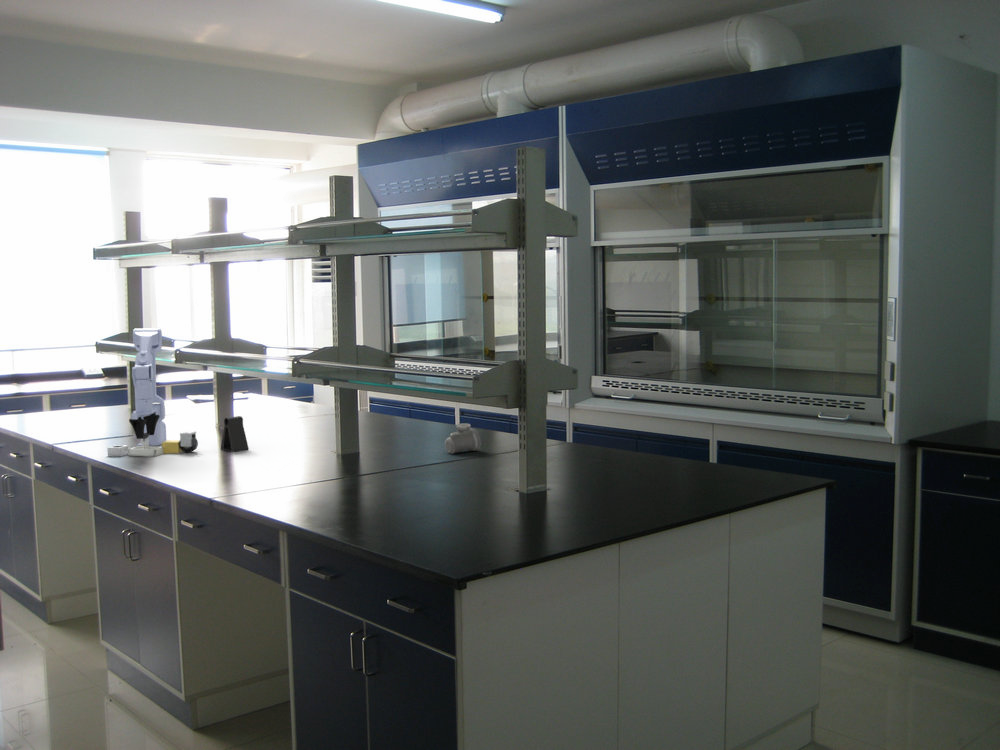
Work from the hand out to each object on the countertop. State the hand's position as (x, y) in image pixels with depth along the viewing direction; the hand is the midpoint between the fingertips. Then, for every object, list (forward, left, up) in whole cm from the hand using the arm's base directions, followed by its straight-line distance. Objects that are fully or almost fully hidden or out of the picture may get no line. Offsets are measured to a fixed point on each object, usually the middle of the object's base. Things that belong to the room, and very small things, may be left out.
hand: (145, 436), depth 319 cm
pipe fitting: (-13, +112, -7) cm, 113 cm away
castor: (-6, +13, -6) cm, 16 cm away
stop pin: (0, 0, -6) cm, 6 cm away
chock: (-6, +7, -7) cm, 11 cm away
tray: (0, 0, -6) cm, 6 cm away
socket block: (+1, -10, -6) cm, 12 cm away
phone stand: (-12, +28, -7) cm, 31 cm away
